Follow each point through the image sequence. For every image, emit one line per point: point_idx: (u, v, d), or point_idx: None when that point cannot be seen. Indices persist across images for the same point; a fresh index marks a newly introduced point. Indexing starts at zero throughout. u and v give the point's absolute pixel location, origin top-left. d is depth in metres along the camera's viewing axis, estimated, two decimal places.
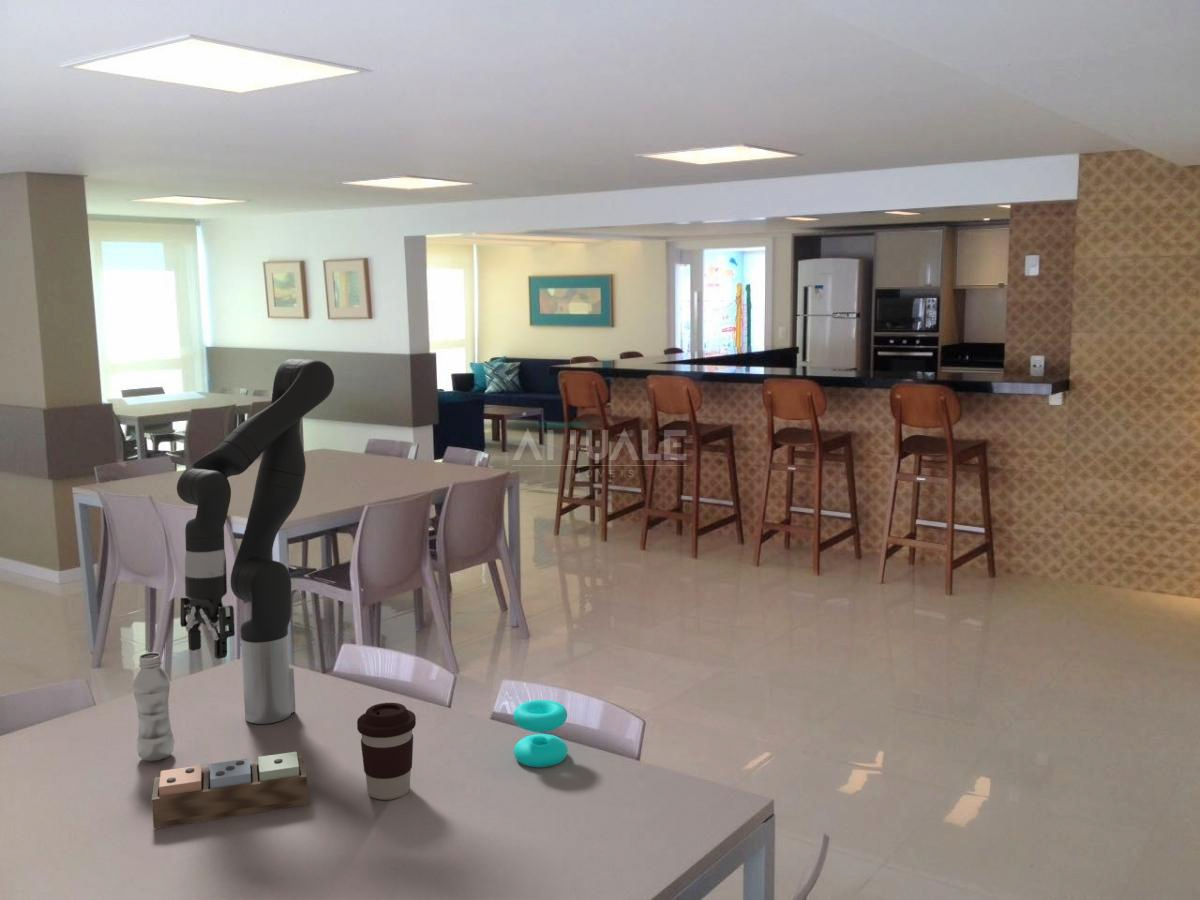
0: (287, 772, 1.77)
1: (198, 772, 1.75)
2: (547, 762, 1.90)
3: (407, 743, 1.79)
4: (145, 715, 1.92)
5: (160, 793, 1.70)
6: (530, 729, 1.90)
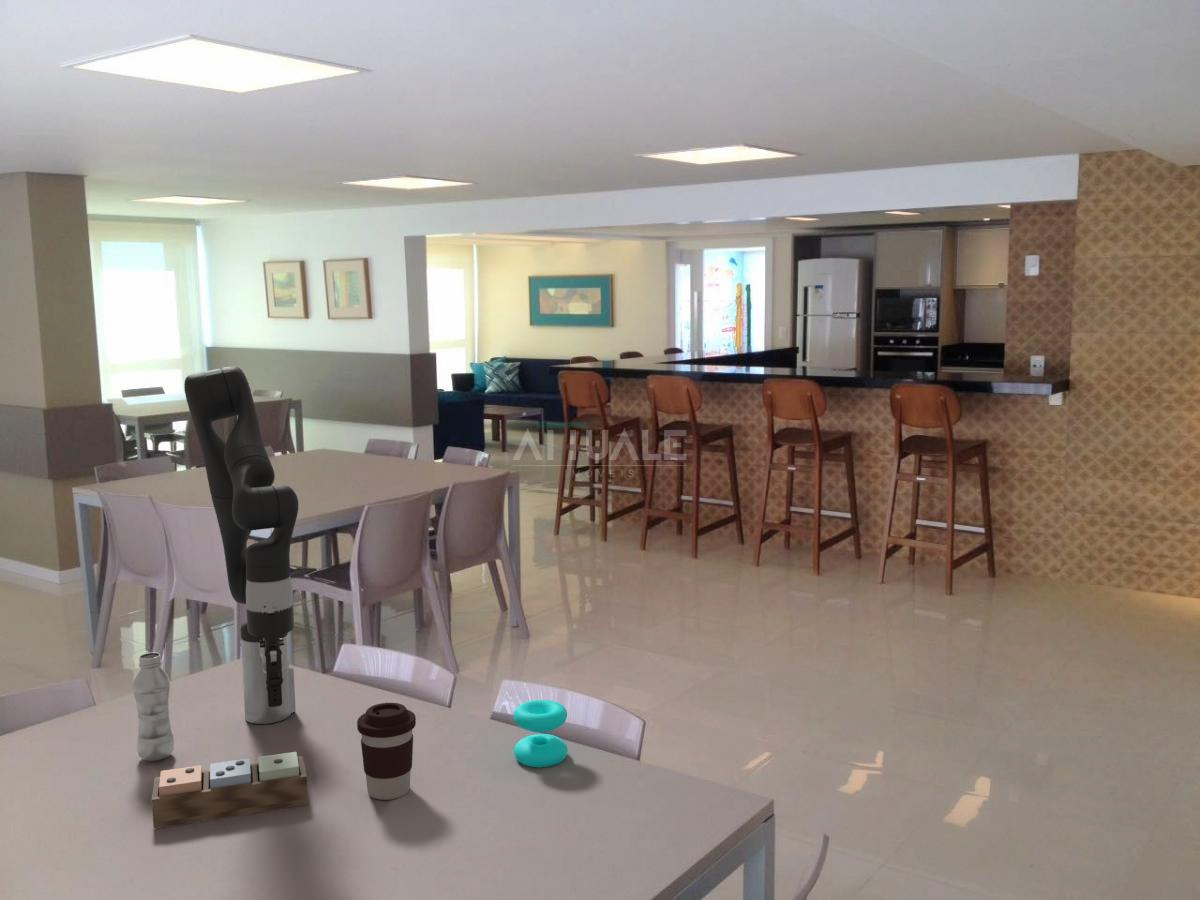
0: (287, 772, 1.77)
1: (198, 772, 1.75)
2: (547, 762, 1.90)
3: (407, 743, 1.79)
4: (145, 715, 1.92)
5: (160, 793, 1.70)
6: (530, 729, 1.90)
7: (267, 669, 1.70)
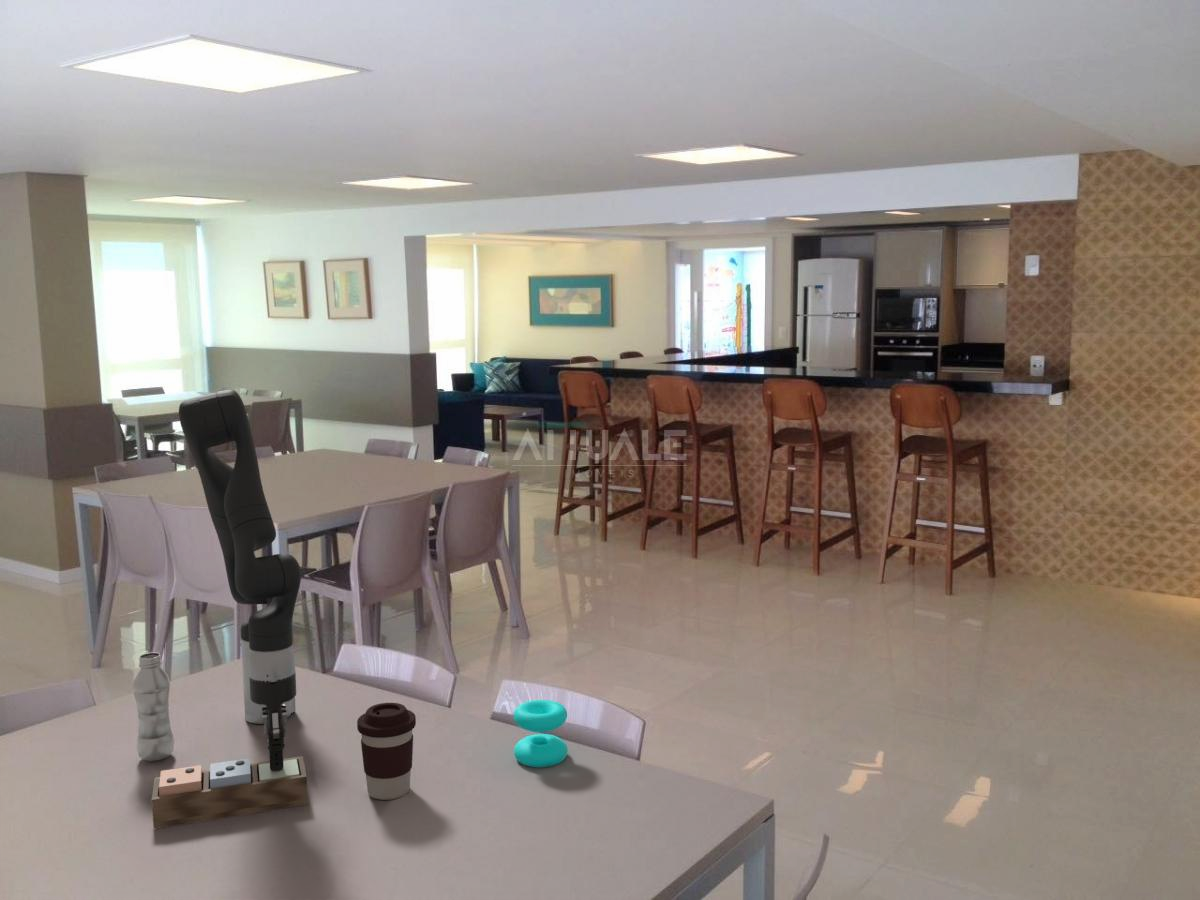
0: None
1: (198, 772, 1.75)
2: (547, 762, 1.90)
3: (407, 743, 1.79)
4: (145, 715, 1.92)
5: (160, 793, 1.70)
6: (530, 729, 1.90)
7: (269, 743, 1.73)
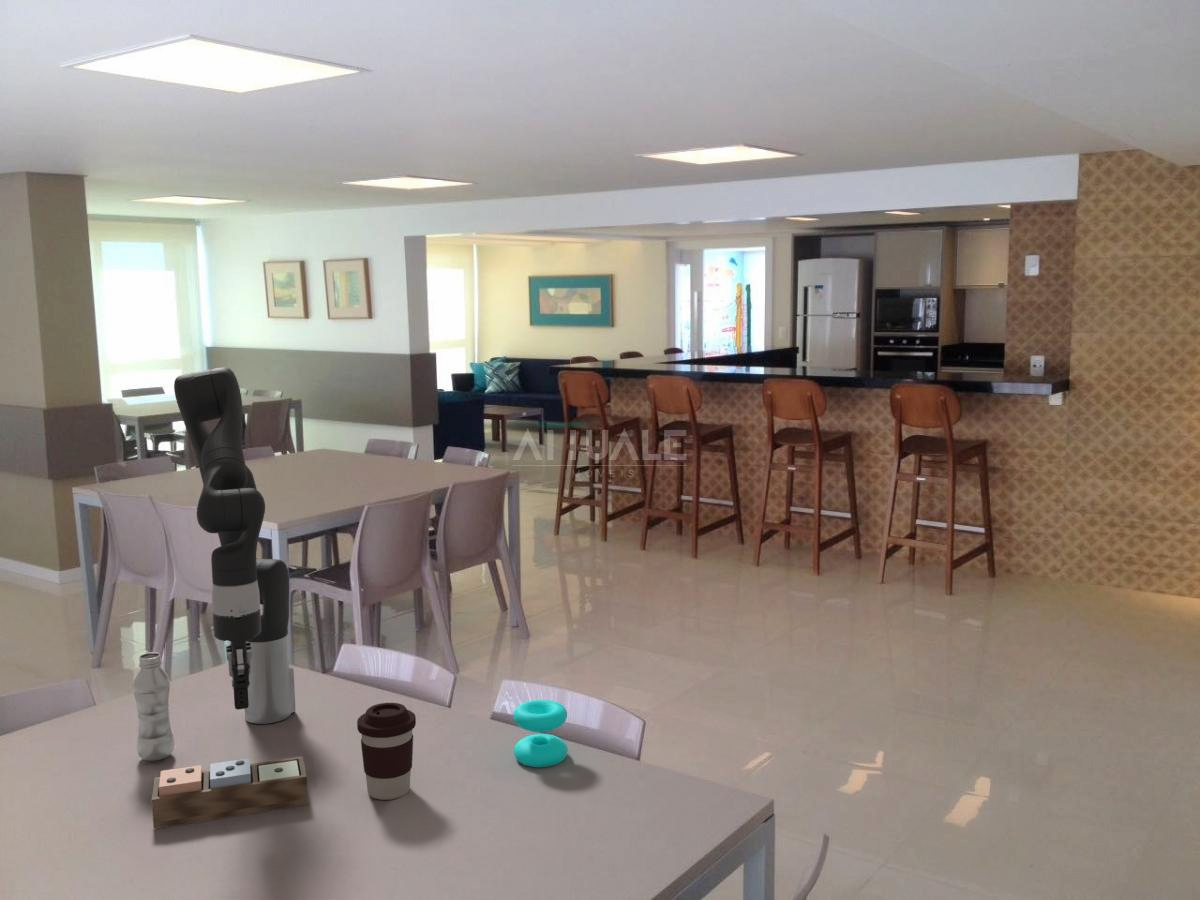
0: None
1: (198, 772, 1.75)
2: (547, 762, 1.90)
3: (407, 743, 1.79)
4: (145, 715, 1.92)
5: (160, 793, 1.70)
6: (530, 729, 1.90)
7: (234, 679, 1.70)
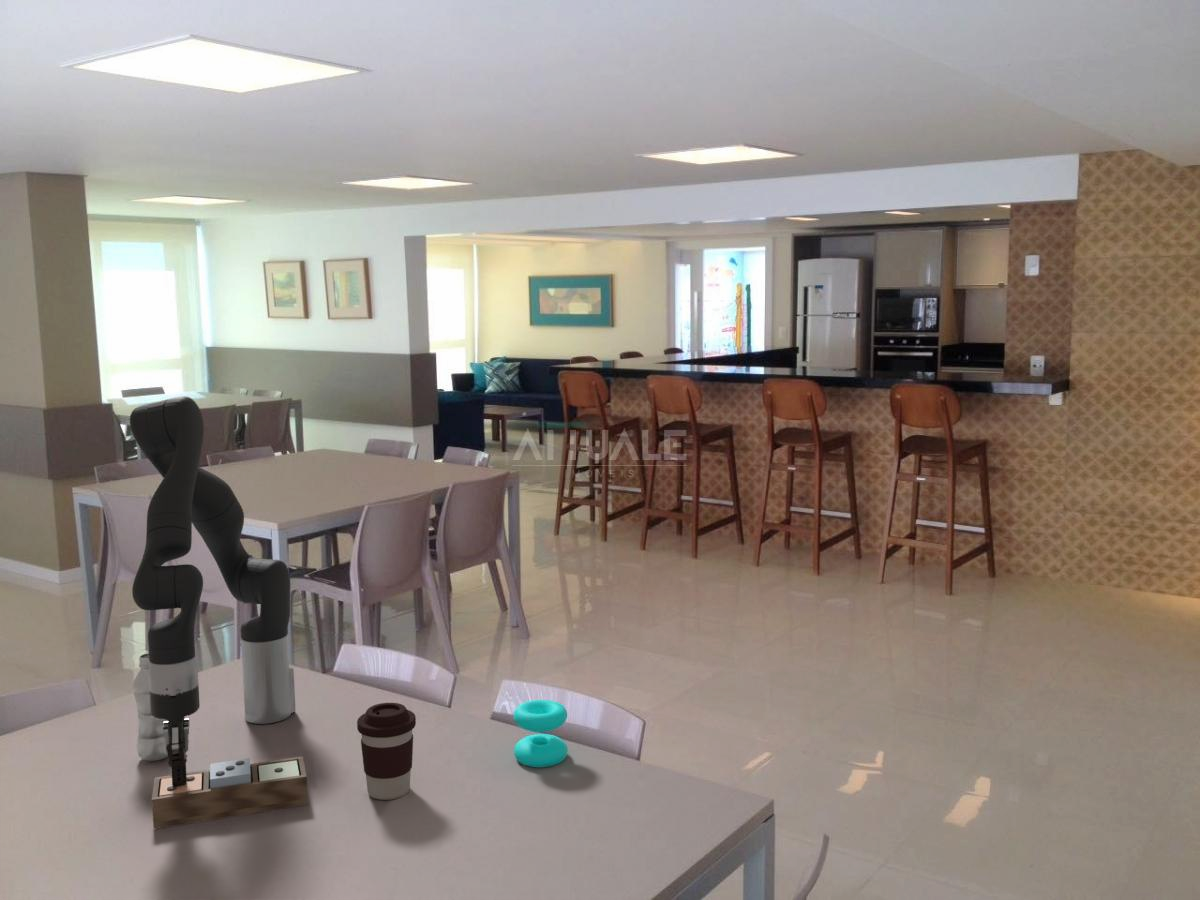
0: None
1: (198, 780, 1.75)
2: (547, 762, 1.90)
3: (407, 743, 1.79)
4: (145, 715, 1.92)
5: None
6: (530, 729, 1.90)
7: (169, 758, 1.68)
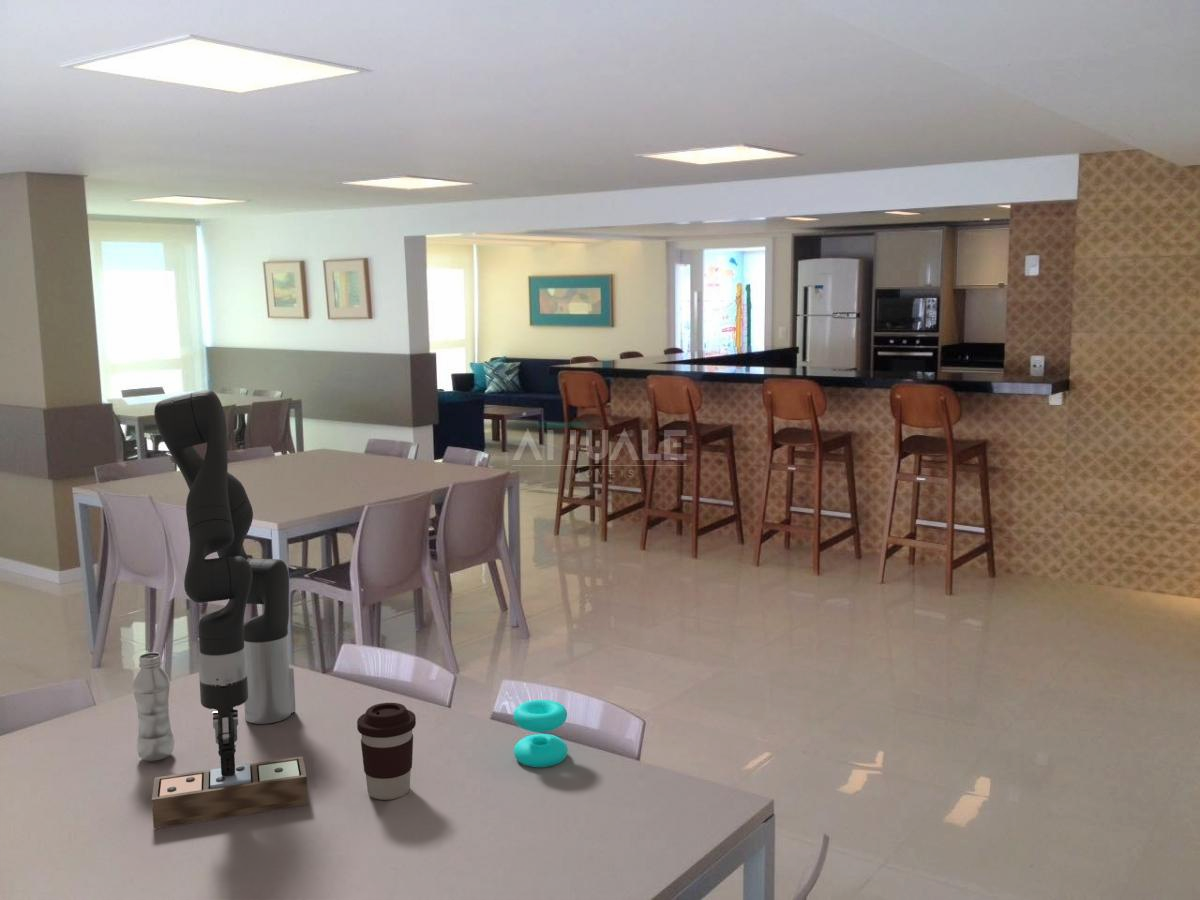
0: None
1: (198, 781, 1.75)
2: (547, 762, 1.90)
3: (407, 743, 1.79)
4: (145, 715, 1.92)
5: None
6: (530, 729, 1.90)
7: (219, 748, 1.71)
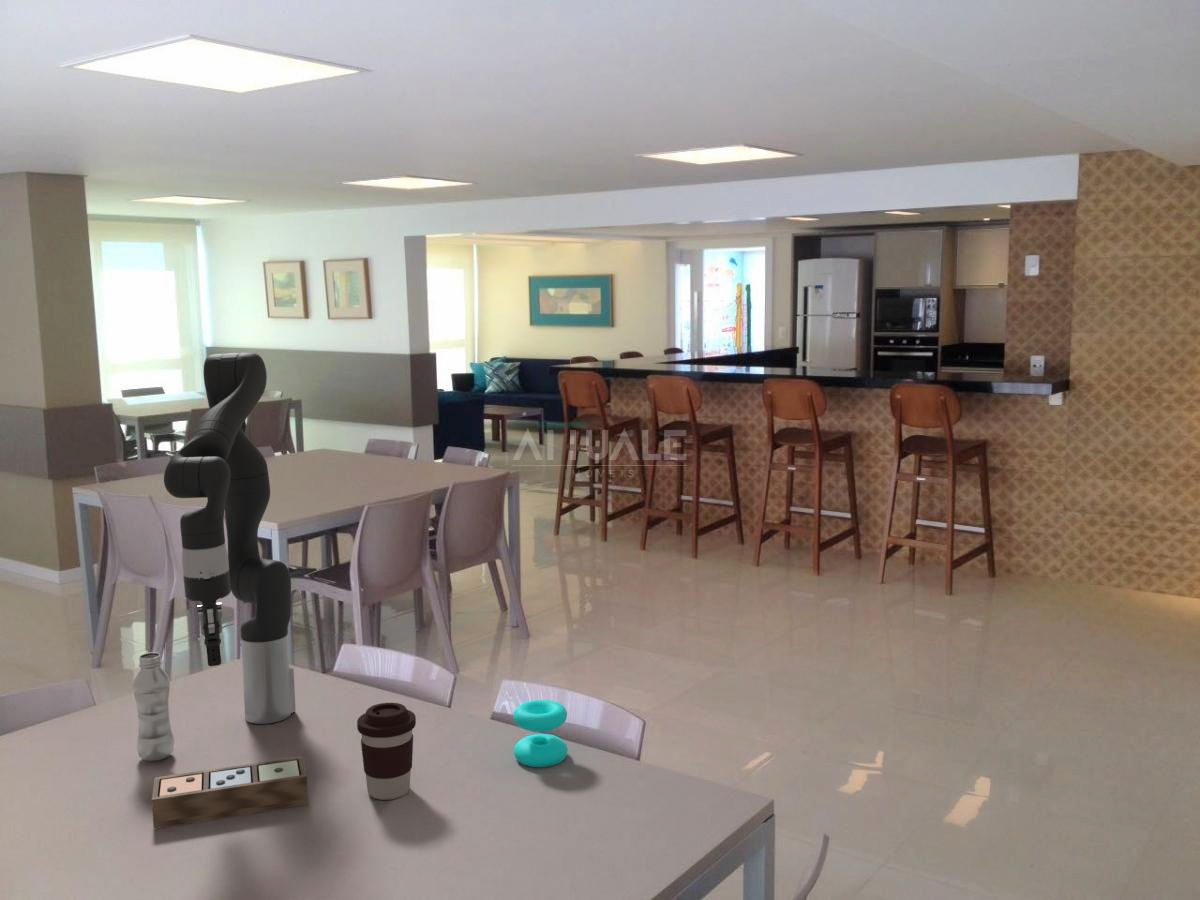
0: None
1: (198, 781, 1.75)
2: (547, 762, 1.90)
3: (407, 743, 1.79)
4: (145, 715, 1.92)
5: None
6: (530, 729, 1.90)
7: (205, 638, 1.79)
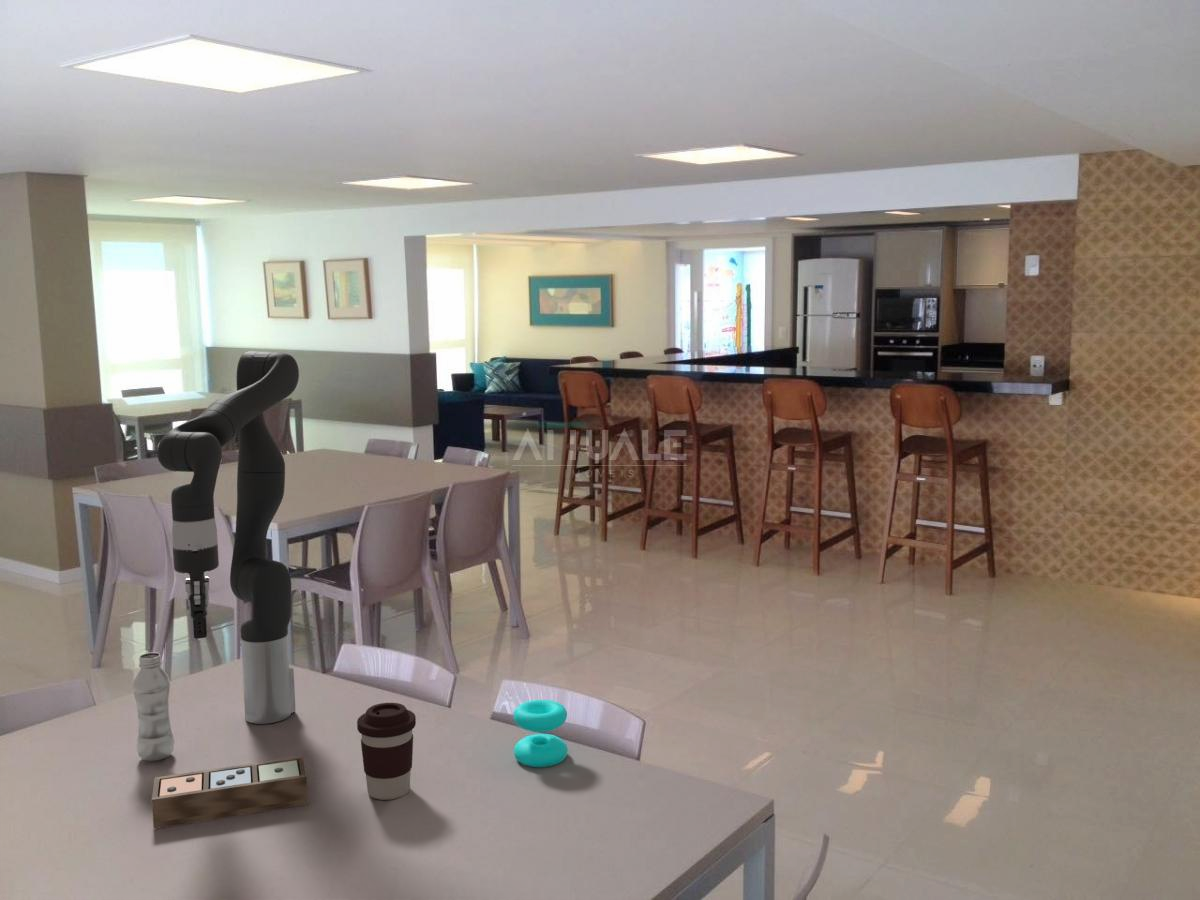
0: None
1: (198, 781, 1.75)
2: (547, 762, 1.90)
3: (407, 743, 1.79)
4: (145, 715, 1.92)
5: None
6: (530, 729, 1.90)
7: (191, 609, 1.83)
